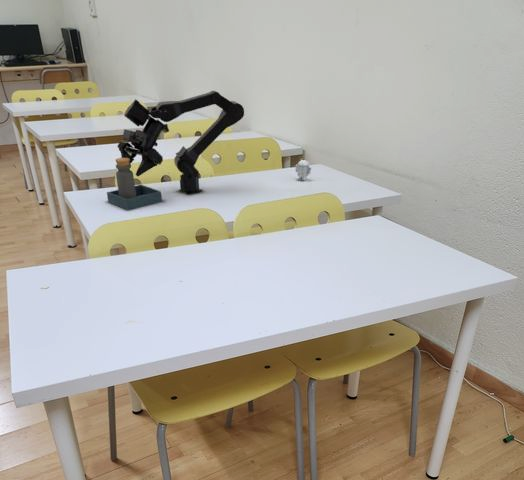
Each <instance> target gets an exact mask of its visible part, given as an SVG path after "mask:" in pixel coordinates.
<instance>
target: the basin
mask: <svg viewBox="0 0 524 480" xmlns="http://www.w3.org/2000/svg"><path fill="white" fill-rule="evenodd" d="M135 191H136V197H134V198H130V199H125V198H123V197H120V196H119V192H118V189H116V190H111V191H106V198H107V203H109V204H112V205H114V206H117V207H119V208H121V209H124V210H126V211H129V210H133V209H137V208H141V207H146V206H149V205H154V204H157V203H162V202H163V196H162V195H163V194H162V191H160V190H158V189H155V188H152V187H149V186H147V185H143V184H138V185H137V184H136V185H135Z"/></svg>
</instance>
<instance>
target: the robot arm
mask: <svg viewBox="0 0 524 480" xmlns="http://www.w3.org/2000/svg"><path fill="white" fill-rule="evenodd" d="M213 105H215V106H217V107H218V108H220V109H222V110H221V111H220V114H219V115H218V118H217V119H216V120H215V121H214V122H213V123H212V124H211V125H210V126H209V127H208V128H207V129H206V130H205V131H204V133H202V134H201V136H199V138H197V139H196V140H195V142H193V144H191V145H190V146H189V147H187V148H186V146H184V145H183V146H182V147H181V148H180V149H179V151H178V152H176V153H175V157H174V159H173V163H174V165H175V167H176V169H177V170H178V172H179V173H181V174H180V177H179V178H180V179H179V186H180V187H179V188H180V189H178V191H179V192H181V193H184V194H187V195H192V194H197V193H200V192H202V191H203V189H201V188H200V180H199V173H200V172H199V170H198V168H196V167H195V165H196V164H197V161H198V160H199V158H200V156H201V155H202V153H204V152H205V151H206V150H207V148H208V147H210V146H211V145H212V143H213V142H215V141H216V140H217V138H218V137H220V135H222V133H223V132H224V131H225V130H226V129H228V128H229V127H232V126H233V125H236V124H237V123H238V122H240V121H241V120H242V119H243V118H244V116H245V109H244V107H243V105H242V104H241V103H239V102H237V101H235V100H230V99H228V98H226V97H225V96H223V95H221V94H220V93H219V92H218V91H217V90H211V91H209V92H206V93H202V94H198V95H196V96H192V97H187V98H184V99H181V100H168V101H167V100H165V101H160V102H158V103H157V104H156V106H153V107H149V108H147V107H145V106H144V105H143V104H142V103H141V102H140V101H139V100H138V99H136V98H135V99H134V100H133V101H132V103H131V104H130V105H129V106H128V107H126V108H127V109H126V110H125V111H124V114H123V115H124V117H125V118H126V119H127V120H129V121H130V122H131V123H132V124H134V125H135V126H136V127H140V126H141V127H143V129H142V130H139V129H135V131H133V130H130V129H123V133H122V138H121V139H122V140H124V141H122V140H121V141H119V142H118V144H117V148H118V151H120V158H129V159H130V161H129V164H132V163H133V162H134V161H135V158H136V157H137V156H141V161H140V163H139V166H138V167H137V169H136V172H135V176H136V177H140V176H141V175H144V173H146V172H148V171H149V170H151V169H153V168H154V167H157V166H158V165H159V166H160V165H161V164H162V163H163V161H164V159H163V158H164V157H163V155H162V154H161V153H159V151H158V150H157V149H156V148H154V147H158V144H159V143H158V139H159V138H160V135H161V134H162V133H164V134H167V133H169V132H170V129H169V126H168V123H169V122H171V121H173V120H175V119H177V118H179V117H181V115H184V114H185V113H189V112H192V111H197V110H199V109H203V108H206V107H210V106H213ZM163 122H164V123H163ZM125 140H126V141H125Z"/></svg>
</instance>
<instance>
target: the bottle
mask: <svg viewBox="0 0 524 480" xmlns="http://www.w3.org/2000/svg"><path fill="white" fill-rule="evenodd" d="M129 161H130V159H129V158H121V157H119V158H116V159H115V163H116V164H115V168H116V169H117V171H116V172H115V176H116V183H117V190H118V192H119V196H120V197H123V198H125V199H130V198H134V197H137V196H136V191H135V186H136V183H135V177H134V172H133V171H132V170H131V168H132V165H131V164H132V163H131V164H129Z"/></svg>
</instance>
